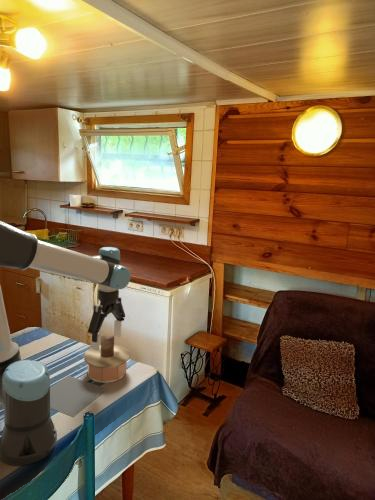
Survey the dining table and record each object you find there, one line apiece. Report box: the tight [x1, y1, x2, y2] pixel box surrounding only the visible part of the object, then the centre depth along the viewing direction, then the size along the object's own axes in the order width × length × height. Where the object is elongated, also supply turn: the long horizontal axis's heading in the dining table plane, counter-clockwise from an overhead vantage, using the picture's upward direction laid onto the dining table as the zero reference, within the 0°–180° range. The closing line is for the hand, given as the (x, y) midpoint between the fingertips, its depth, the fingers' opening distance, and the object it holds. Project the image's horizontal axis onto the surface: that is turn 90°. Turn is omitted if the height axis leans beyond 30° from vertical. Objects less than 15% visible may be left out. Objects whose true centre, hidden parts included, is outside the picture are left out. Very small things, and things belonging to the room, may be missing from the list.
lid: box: [83, 334, 131, 368], centre depth 141 cm, size 17×17×8 cm
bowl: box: [86, 361, 128, 384], centre depth 143 cm, size 14×14×7 cm
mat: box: [50, 375, 108, 418], centre depth 128 cm, size 18×18×1 cm
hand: (107, 342), depth 141 cm, fingers open, 13 cm apart
